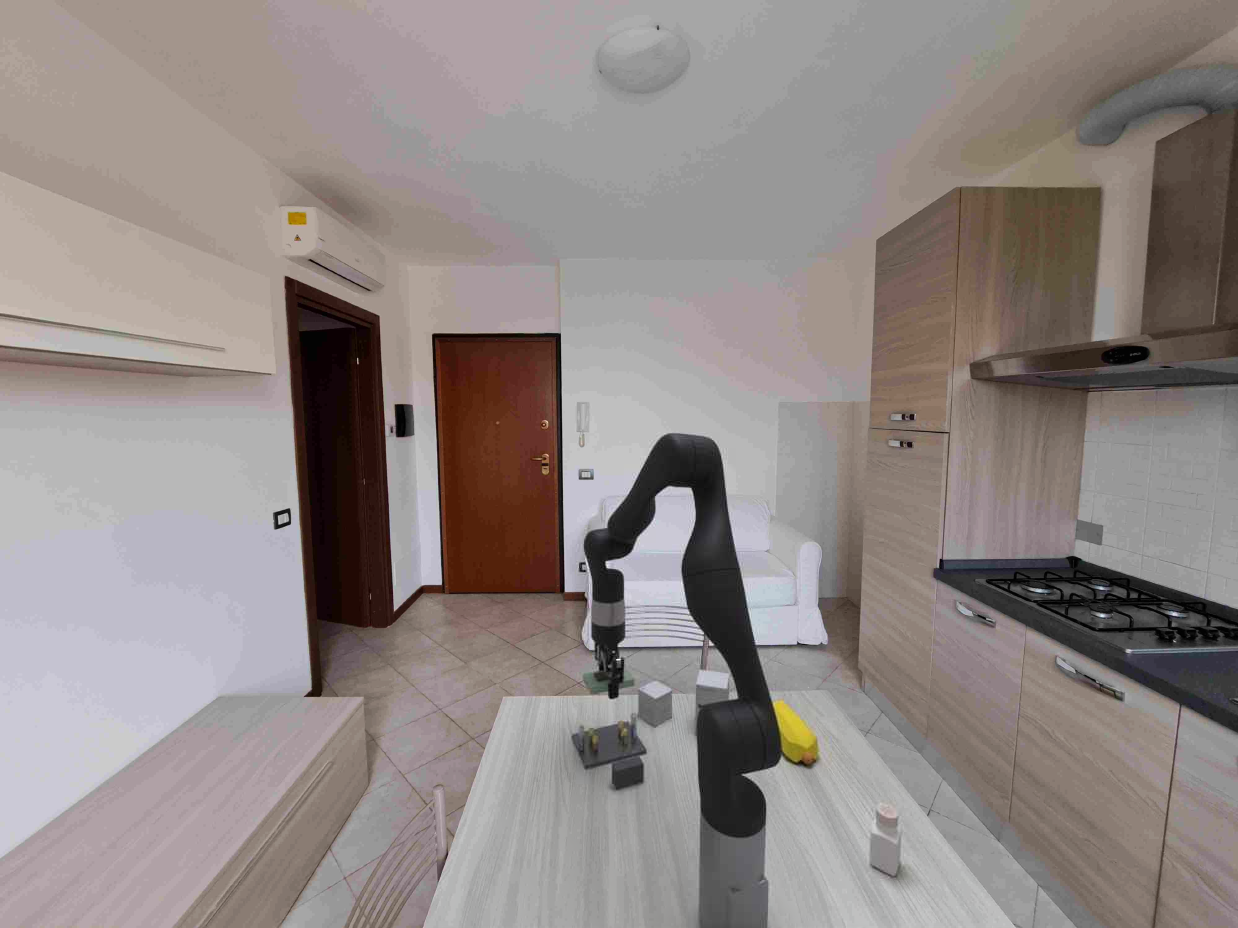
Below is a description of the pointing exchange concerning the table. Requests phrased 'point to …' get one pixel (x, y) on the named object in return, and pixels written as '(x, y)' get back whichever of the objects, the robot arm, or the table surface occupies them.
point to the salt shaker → (885, 840)
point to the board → (604, 681)
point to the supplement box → (710, 689)
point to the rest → (627, 772)
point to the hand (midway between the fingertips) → (608, 689)
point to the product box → (655, 703)
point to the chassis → (608, 743)
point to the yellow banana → (795, 735)
